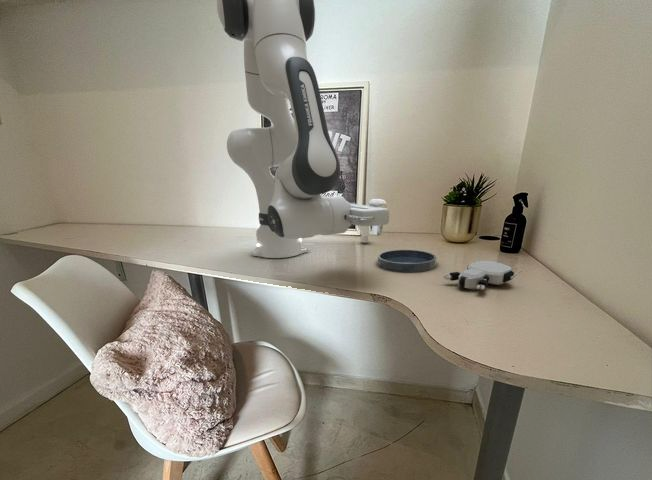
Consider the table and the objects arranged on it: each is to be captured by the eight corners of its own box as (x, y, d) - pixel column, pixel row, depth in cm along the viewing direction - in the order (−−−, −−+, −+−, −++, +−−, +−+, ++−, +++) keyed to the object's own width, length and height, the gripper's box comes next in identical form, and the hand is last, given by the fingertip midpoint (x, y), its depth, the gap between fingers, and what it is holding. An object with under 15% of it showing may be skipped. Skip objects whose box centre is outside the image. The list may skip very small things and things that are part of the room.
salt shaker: (386, 236, 87) (389, 196, 82) (366, 235, 88) (367, 195, 83) (387, 233, 91) (390, 194, 86) (368, 232, 92) (370, 193, 87)
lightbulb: (353, 244, 130) (353, 214, 125) (362, 241, 134) (362, 212, 130) (367, 245, 126) (368, 215, 122) (375, 242, 131) (376, 213, 127)
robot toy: (481, 301, 74) (521, 284, 81) (484, 282, 72) (524, 266, 79) (439, 287, 84) (478, 272, 91) (440, 270, 82) (479, 256, 89)
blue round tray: (371, 259, 108) (371, 251, 107) (421, 255, 111) (421, 248, 110) (388, 274, 92) (389, 265, 91) (446, 269, 95) (447, 261, 94)
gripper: (359, 205, 72) (408, 201, 78) (315, 198, 88) (358, 195, 94) (359, 235, 74) (406, 228, 81) (316, 223, 90) (358, 218, 97)
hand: (380, 210), depth 87 cm, fingers closed on salt shaker, 4 cm apart
